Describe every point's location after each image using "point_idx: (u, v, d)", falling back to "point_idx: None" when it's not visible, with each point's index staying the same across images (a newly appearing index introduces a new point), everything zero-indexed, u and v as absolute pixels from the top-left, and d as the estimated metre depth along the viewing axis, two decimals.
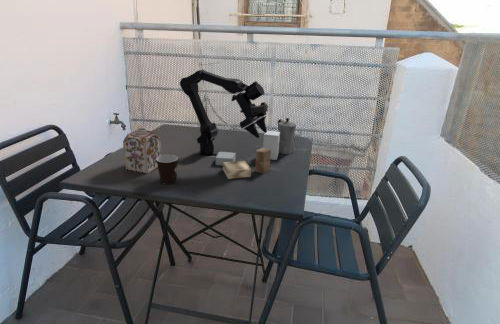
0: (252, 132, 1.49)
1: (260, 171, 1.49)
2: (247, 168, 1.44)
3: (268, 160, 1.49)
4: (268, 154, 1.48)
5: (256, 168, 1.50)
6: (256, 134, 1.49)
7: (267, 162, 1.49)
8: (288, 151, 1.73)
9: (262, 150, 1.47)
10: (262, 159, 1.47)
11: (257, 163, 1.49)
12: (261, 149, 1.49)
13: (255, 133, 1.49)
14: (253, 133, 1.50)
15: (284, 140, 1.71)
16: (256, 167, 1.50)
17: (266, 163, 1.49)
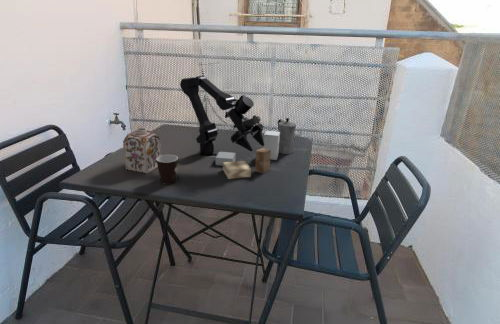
0: (244, 146, 1.46)
1: (260, 171, 1.49)
2: (247, 168, 1.44)
3: (268, 160, 1.49)
4: (268, 154, 1.48)
5: (256, 168, 1.50)
6: (248, 147, 1.46)
7: (267, 162, 1.49)
8: (288, 151, 1.73)
9: (262, 150, 1.47)
10: (262, 159, 1.47)
11: (257, 163, 1.49)
12: (261, 149, 1.49)
13: (247, 146, 1.46)
14: (246, 147, 1.46)
15: (284, 140, 1.71)
16: (256, 167, 1.50)
17: (266, 163, 1.49)
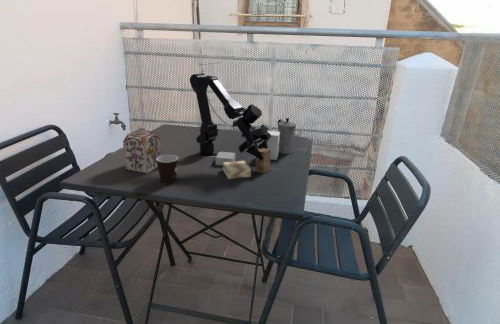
0: (255, 154, 1.47)
1: (260, 171, 1.49)
2: (247, 168, 1.44)
3: (268, 160, 1.49)
4: (268, 154, 1.48)
5: (256, 168, 1.50)
6: (259, 156, 1.46)
7: (267, 162, 1.49)
8: (288, 151, 1.73)
9: (262, 150, 1.47)
10: None
11: (257, 163, 1.49)
12: (261, 149, 1.49)
13: (258, 155, 1.46)
14: (256, 156, 1.47)
15: (284, 140, 1.71)
16: (256, 167, 1.50)
17: (266, 163, 1.49)
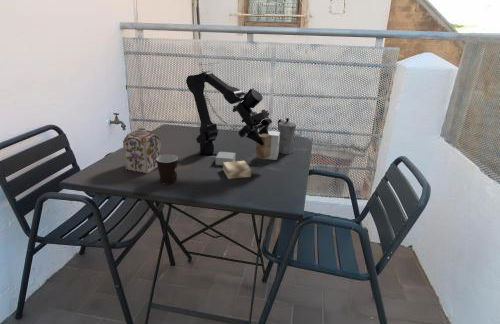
0: (255, 139, 1.44)
1: (260, 157, 1.47)
2: (247, 168, 1.44)
3: (269, 146, 1.47)
4: (269, 139, 1.46)
5: (256, 154, 1.48)
6: (259, 141, 1.44)
7: (267, 147, 1.46)
8: (288, 151, 1.73)
9: (263, 135, 1.45)
10: None
11: (257, 149, 1.47)
12: (262, 134, 1.46)
13: (258, 140, 1.44)
14: (257, 141, 1.44)
15: (284, 140, 1.71)
16: (256, 153, 1.48)
17: (267, 148, 1.46)
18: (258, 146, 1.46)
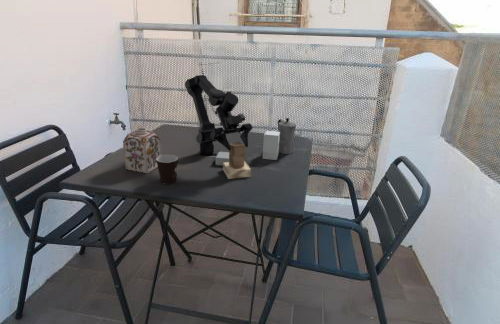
0: (224, 144, 1.42)
1: (232, 166, 1.45)
2: (247, 168, 1.44)
3: (241, 155, 1.44)
4: (241, 149, 1.43)
5: (229, 162, 1.46)
6: (227, 146, 1.40)
7: (239, 157, 1.44)
8: (288, 151, 1.73)
9: (235, 144, 1.43)
10: (233, 153, 1.42)
11: (230, 157, 1.45)
12: (235, 143, 1.44)
13: (226, 145, 1.41)
14: (225, 145, 1.41)
15: (284, 140, 1.71)
16: (229, 161, 1.46)
17: (238, 158, 1.43)
18: (230, 155, 1.44)
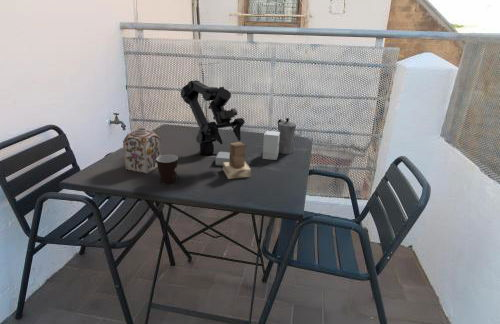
0: (216, 138, 1.46)
1: (232, 165, 1.45)
2: (247, 168, 1.44)
3: (242, 155, 1.44)
4: (241, 149, 1.43)
5: (230, 162, 1.46)
6: (219, 140, 1.45)
7: (240, 156, 1.44)
8: (288, 151, 1.73)
9: (236, 144, 1.43)
10: (234, 153, 1.42)
11: (230, 157, 1.45)
12: (236, 143, 1.44)
13: (218, 139, 1.45)
14: (217, 139, 1.46)
15: (284, 140, 1.71)
16: (230, 161, 1.46)
17: (239, 157, 1.43)
18: (231, 154, 1.44)
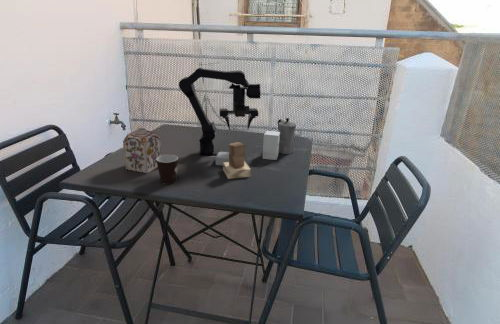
0: None
1: (232, 166, 1.45)
2: (247, 168, 1.44)
3: (241, 155, 1.44)
4: (241, 149, 1.43)
5: (229, 162, 1.46)
6: None
7: (240, 157, 1.44)
8: (288, 151, 1.73)
9: (235, 144, 1.43)
10: (233, 153, 1.42)
11: (230, 157, 1.45)
12: (235, 143, 1.44)
13: None
14: None
15: (284, 140, 1.71)
16: (229, 161, 1.46)
17: (238, 158, 1.43)
18: (230, 155, 1.44)
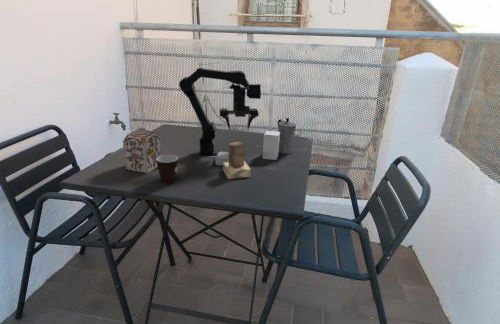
0: None
1: (232, 165, 1.45)
2: (247, 168, 1.44)
3: (241, 155, 1.44)
4: (241, 148, 1.43)
5: (229, 162, 1.46)
6: None
7: (240, 156, 1.44)
8: (288, 151, 1.73)
9: (235, 144, 1.43)
10: (233, 153, 1.42)
11: (230, 157, 1.45)
12: (235, 143, 1.44)
13: (227, 124, 1.64)
14: None
15: (284, 140, 1.71)
16: (229, 161, 1.46)
17: (238, 157, 1.44)
18: (230, 154, 1.45)
